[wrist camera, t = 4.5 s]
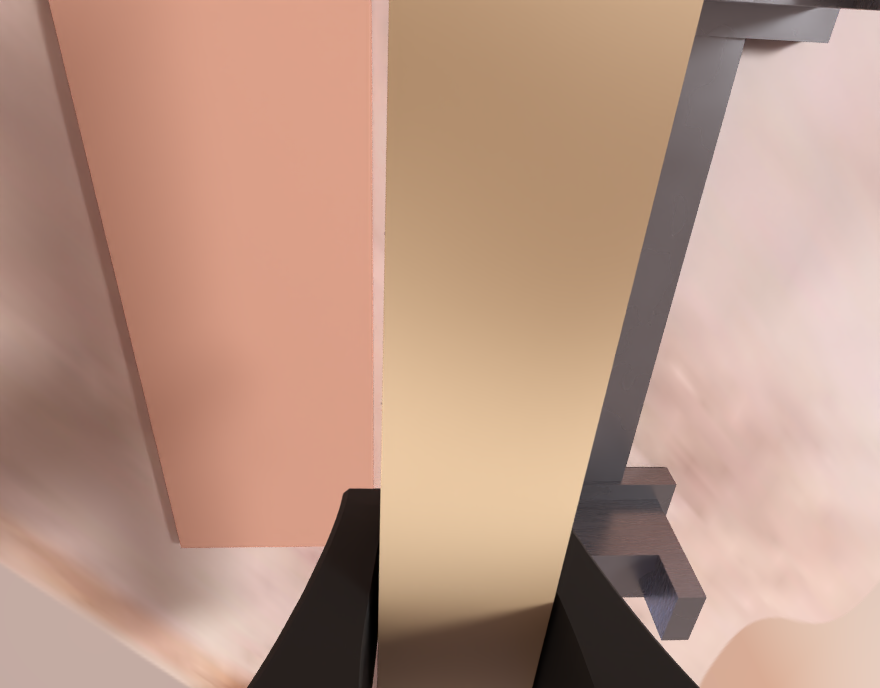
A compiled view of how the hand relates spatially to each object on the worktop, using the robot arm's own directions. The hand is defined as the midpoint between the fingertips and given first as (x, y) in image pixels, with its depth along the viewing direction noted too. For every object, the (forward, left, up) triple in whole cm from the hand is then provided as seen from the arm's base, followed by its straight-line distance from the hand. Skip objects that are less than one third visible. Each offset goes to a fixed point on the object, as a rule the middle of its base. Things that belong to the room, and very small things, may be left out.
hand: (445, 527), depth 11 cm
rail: (0, 0, 0) cm, 0 cm away
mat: (0, +6, -10) cm, 12 cm away
